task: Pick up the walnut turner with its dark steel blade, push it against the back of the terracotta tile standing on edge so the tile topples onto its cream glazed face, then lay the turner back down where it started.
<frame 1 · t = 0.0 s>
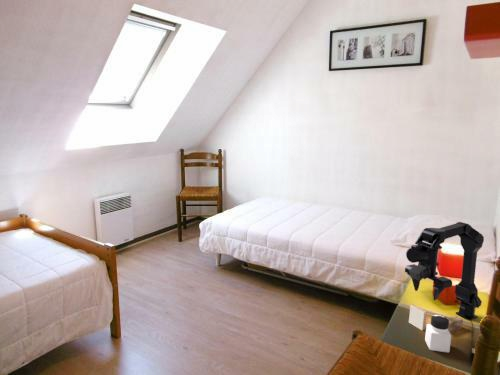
hand: (425, 295, 153), 15 cm above the nightstand, tool pointing down, fingers open, 9 cm apart
tile: (416, 325, 157), on the nightstand
turner: (450, 328, 155), on the nightstand
medicine bottle: (436, 346, 142), on the nightstand
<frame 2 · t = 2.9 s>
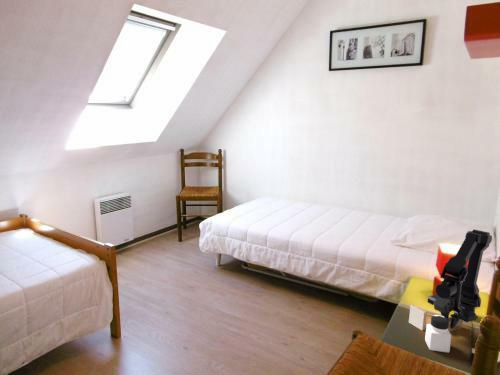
hand: (448, 326, 154), 1 cm above the nightstand, tool pointing down, fingers closed on turner, 3 cm apart
turner: (450, 328, 155), on the nightstand, touching gripper
everything else where it was.
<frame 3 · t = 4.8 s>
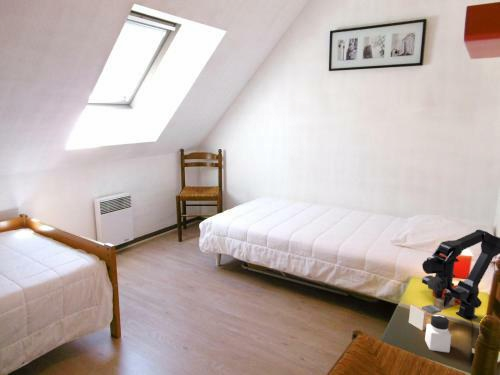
hand: (441, 305, 161), 7 cm above the nightstand, tool pointing down, fingers closed on turner, 3 cm apart
turner: (443, 307, 162), point 6 cm above the nightstand, touching gripper
everything else where it was.
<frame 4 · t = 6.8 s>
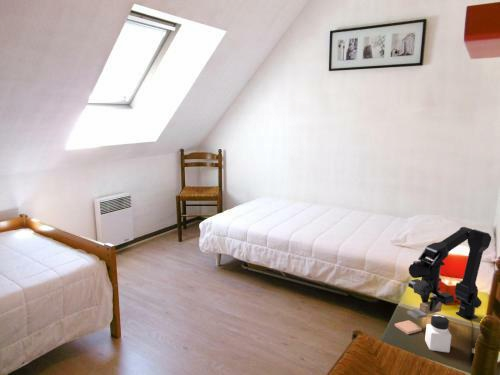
hand: (428, 309, 158), 6 cm above the nightstand, tool pointing down, fingers closed on turner, 3 cm apart
tile: (415, 325, 156), on the nightstand, tilted 90°
turner: (430, 311, 159), point 5 cm above the nightstand, touching gripper
everything else where it was.
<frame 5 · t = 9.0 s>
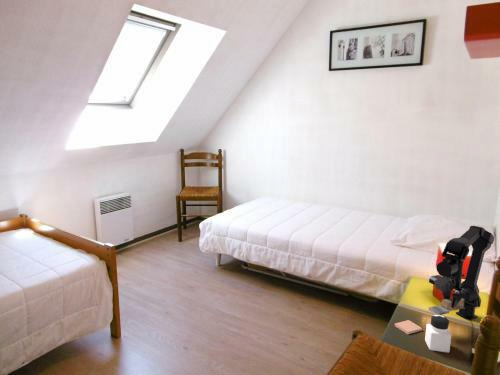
hand: (449, 306, 154), 10 cm above the nightstand, tool pointing down, fingers closed on turner, 3 cm apart
turner: (451, 308, 154), point 9 cm above the nightstand, touching gripper
everything else where it was.
when the fingers open (3 cm above the nightstand, at t = 10.6 s): turner drops 2 cm, on the nightstand.
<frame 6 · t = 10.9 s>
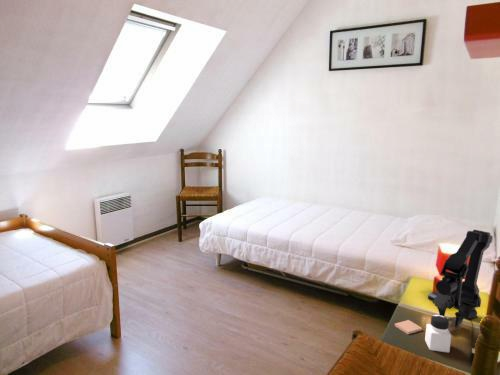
hand: (449, 323, 154), 3 cm above the nightstand, tool pointing down, fingers open, 6 cm apart
turner: (450, 328, 155), on the nightstand
everything else where it was.
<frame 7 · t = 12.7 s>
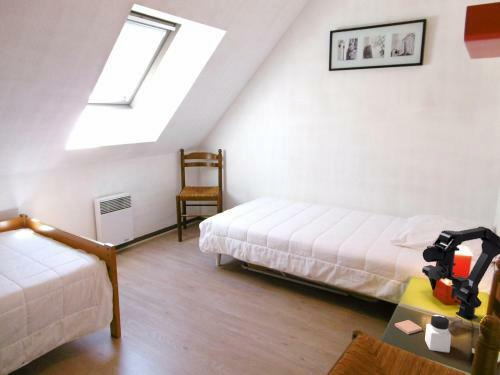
hand: (442, 294, 161), 12 cm above the nightstand, tool pointing down, fingers open, 9 cm apart
nothing on the nightstand moved.
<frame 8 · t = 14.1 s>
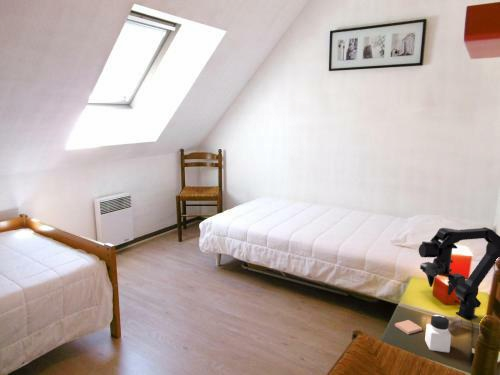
hand: (439, 290, 164), 12 cm above the nightstand, tool pointing down, fingers open, 9 cm apart
nothing on the nightstand moved.
at the end: tile tilted 90°; the gripper is holding nothing; turner inside the target area (2.5 cm from its centre), on the nightstand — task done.
